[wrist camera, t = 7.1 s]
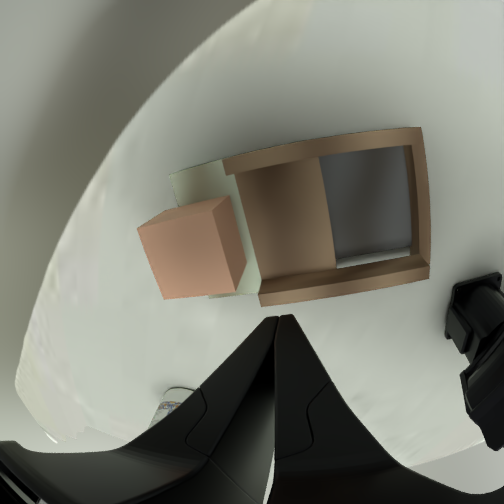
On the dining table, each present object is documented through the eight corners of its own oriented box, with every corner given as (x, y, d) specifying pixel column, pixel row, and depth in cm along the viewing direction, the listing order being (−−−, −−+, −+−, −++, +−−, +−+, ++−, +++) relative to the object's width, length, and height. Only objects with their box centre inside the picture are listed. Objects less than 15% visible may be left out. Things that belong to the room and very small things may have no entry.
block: (229, 195, 18) (211, 210, 14) (247, 262, 20) (235, 292, 16) (164, 210, 19) (136, 228, 15) (185, 271, 21) (164, 299, 17)
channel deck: (409, 127, 16) (434, 126, 12) (420, 253, 19) (440, 276, 16) (180, 170, 20) (155, 179, 16) (216, 286, 23) (201, 313, 20)
